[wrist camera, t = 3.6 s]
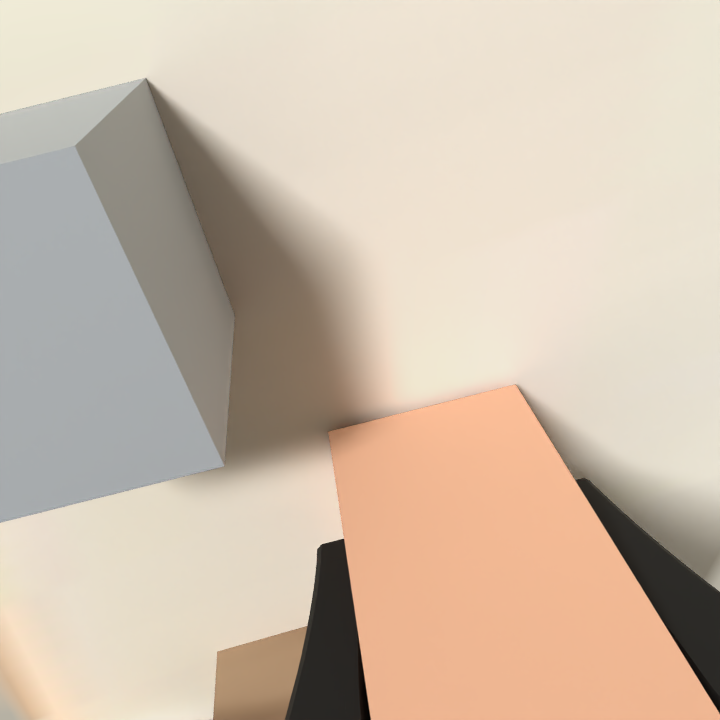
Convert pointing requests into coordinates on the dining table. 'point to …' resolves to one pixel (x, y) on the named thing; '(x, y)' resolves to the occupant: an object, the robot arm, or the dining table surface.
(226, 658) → the walnut block
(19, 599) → the dining table surface
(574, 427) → the dining table surface
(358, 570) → the terracotta block
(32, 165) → the slate block
